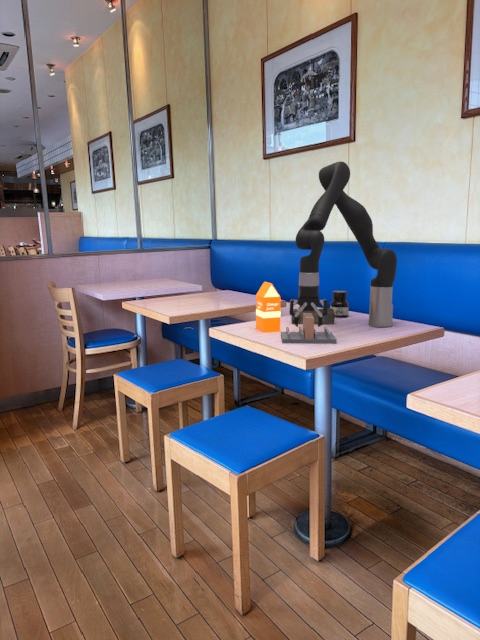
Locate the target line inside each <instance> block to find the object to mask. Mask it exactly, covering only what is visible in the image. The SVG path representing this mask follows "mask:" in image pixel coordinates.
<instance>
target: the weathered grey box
mask: <svg viewBox="0 0 480 640" xmlns="http://www.w3.org/2000/svg"><path fill="white" fill-rule="evenodd" d="M297 309H298V308H293V312H294V313H295V312H296V311H297ZM318 309H319V311H320V312H321V313H322V312H323V308H318ZM303 313H311V314H312V315H313V317H314V325H318V316H319V315H318V314H317V312H316V311H315V310H313V311H304V310H302V312H301V313H300V314H299V315H298V325H303ZM290 317H291V324H292V325H295V324H294V316H292V315H290ZM335 318H336V317H335V313H334V310H333V309H330V308H328V307H327V315H325V316H323V317H322V325H334V324H335Z"/></svg>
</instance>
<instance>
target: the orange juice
mask: <svg viewBox="0 0 480 640" xmlns="http://www.w3.org/2000/svg"><path fill="white" fill-rule="evenodd" d="M281 302H282V299H281V295H280V294H279V293H278V290H276V288H275V287H274V284H273V283H271V282H267V281H264V282H263V283H262V285H261V286H260V288H259V290H258V291H257V293H256V294H255V329H256V330H257V331H260V332H262V334H263V333H277V332H281Z"/></svg>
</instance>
